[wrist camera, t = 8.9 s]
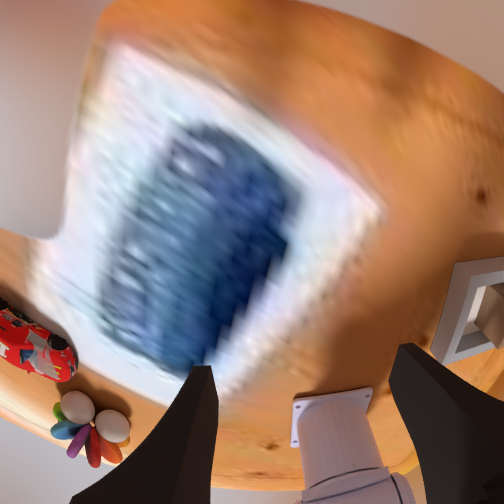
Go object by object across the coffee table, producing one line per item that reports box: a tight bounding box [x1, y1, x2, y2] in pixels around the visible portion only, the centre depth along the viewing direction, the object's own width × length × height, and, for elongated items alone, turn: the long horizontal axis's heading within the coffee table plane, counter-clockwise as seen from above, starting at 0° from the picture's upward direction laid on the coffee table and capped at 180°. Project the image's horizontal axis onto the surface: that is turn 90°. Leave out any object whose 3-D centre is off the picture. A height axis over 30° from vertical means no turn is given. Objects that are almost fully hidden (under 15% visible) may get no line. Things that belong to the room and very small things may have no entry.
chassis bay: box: [430, 256, 504, 365], centre depth 21 cm, size 9×14×2 cm, turn 94°
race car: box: [0, 297, 78, 382], centre depth 21 cm, size 13×5×4 cm, turn 61°
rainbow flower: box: [51, 391, 130, 468], centre depth 24 cm, size 8×10×7 cm
